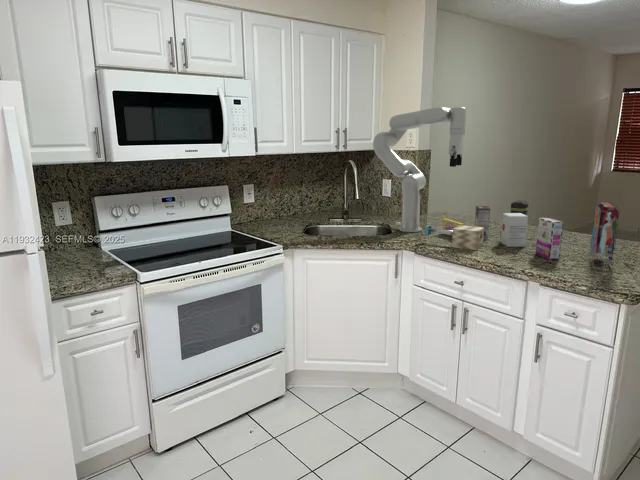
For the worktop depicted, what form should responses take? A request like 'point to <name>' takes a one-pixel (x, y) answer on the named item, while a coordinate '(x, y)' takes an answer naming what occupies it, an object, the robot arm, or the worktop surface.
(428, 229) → the teal and silver rod
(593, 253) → the box
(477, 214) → the coffee box
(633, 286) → the worktop surface
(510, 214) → the supplement box
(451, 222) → the candy box
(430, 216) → the worktop surface
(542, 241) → the candy bar box
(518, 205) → the coffee jar
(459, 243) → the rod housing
